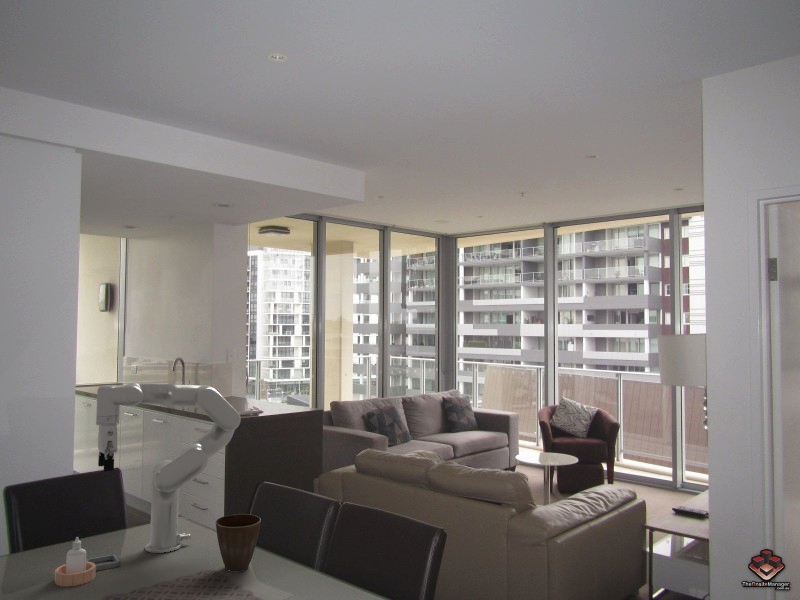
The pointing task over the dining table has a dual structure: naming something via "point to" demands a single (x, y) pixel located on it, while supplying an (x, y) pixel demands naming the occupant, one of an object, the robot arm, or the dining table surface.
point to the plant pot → (237, 539)
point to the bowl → (75, 575)
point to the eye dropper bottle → (76, 558)
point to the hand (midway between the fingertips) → (105, 468)
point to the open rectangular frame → (105, 558)
